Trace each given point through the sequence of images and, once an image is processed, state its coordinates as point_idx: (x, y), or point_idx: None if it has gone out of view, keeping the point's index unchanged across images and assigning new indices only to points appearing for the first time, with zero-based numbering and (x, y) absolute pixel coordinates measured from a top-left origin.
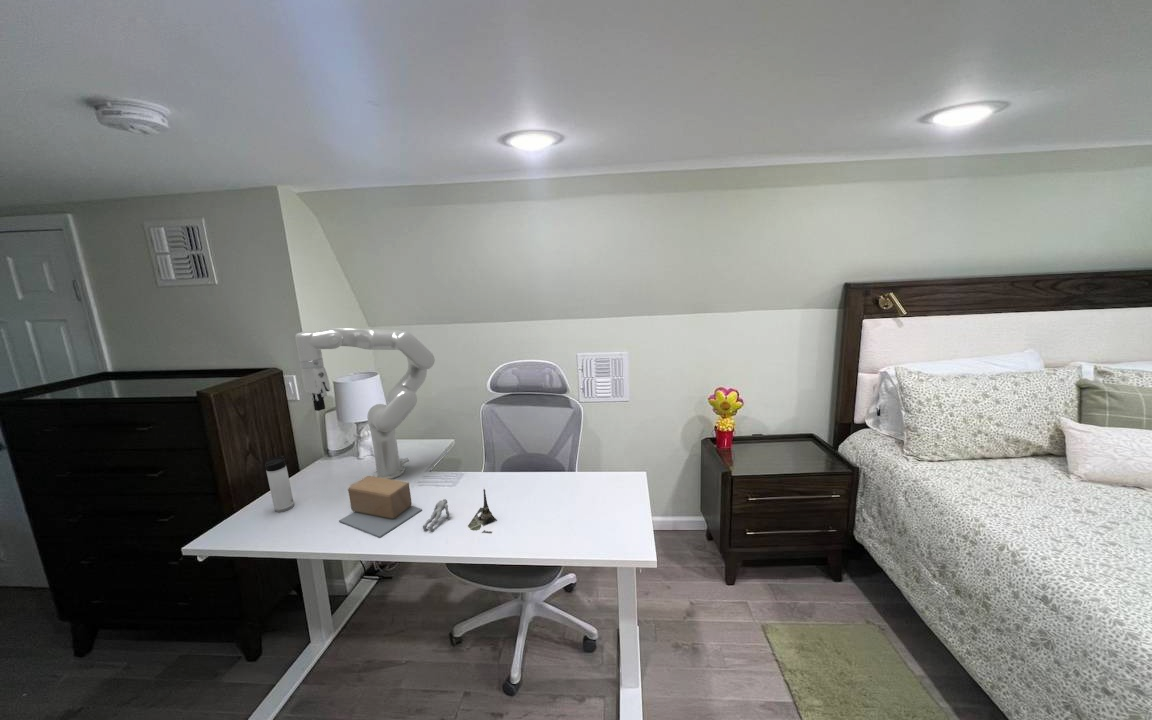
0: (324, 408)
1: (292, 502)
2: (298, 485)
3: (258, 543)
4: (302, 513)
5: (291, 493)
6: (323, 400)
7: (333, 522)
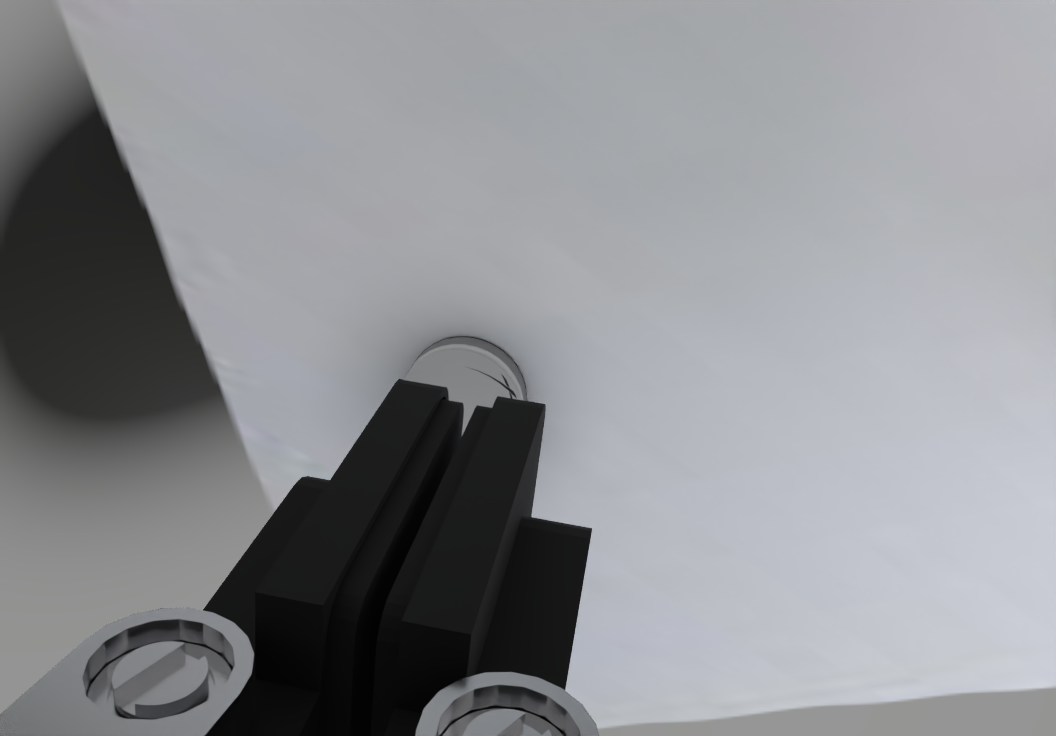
0: (541, 425)
1: (511, 381)
2: (211, 105)
3: (707, 690)
4: (672, 413)
5: (492, 402)
6: (488, 607)
7: (1021, 446)
